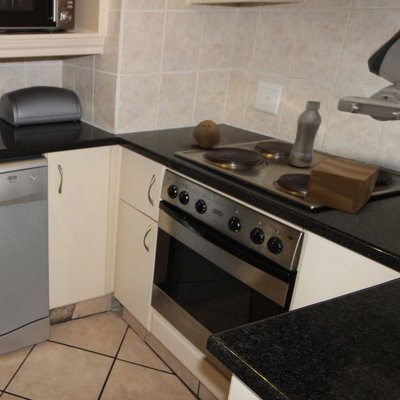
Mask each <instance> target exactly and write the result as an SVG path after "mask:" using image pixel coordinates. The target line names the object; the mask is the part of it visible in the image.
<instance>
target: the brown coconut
mask: <svg viewBox="0 0 400 400" xmlns="http://www.w3.org/2000/svg"><path fill="white" fill-rule="evenodd" d="M192 135H193V138H194V141H195V142H196V143H197V145H198V146H199V147H200V148H202V149H205V150H207V149H210V148H212V147H214V146H217V145H219V144H220V143H221V142H222V134H221V131H220V128H219V126H218V124H217V123H216V122H215V121H213V120H212V119H204V120H202V121H200V122H199V123H198V124H197V125H196V126H195V128H194V130H193V133H192Z"/></svg>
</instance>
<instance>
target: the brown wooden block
mask: <svg viewBox="0 0 400 400" xmlns="http://www.w3.org/2000/svg"><path fill="white" fill-rule="evenodd" d="M335 159H336V160H341V161H346V162H351V163H356V164H361V165H365V166H370V167H375V168H379V170H378V173H377V176H376V179H375V183H374V186H373V189H372V192H373V191H374V190H375V189H374V188H375V186H376V183H377V179H378V175H379V174H380V173H379V172H380V169H381V166H378V165H374V164H369V163H366V162H365V163H364V162H359V161H355V160H349V159H344V158H340V157H335Z"/></svg>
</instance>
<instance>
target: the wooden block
mask: <svg viewBox="0 0 400 400" xmlns="http://www.w3.org/2000/svg"><path fill="white" fill-rule="evenodd" d="M378 170H379V171H380V169H379V168H375V167H370V166H365V165H361V164H356V163H351V162H346V161H341V160H336V158H332V157H328V158H327V159H325V160H323V161H322V162H320V163H319V164H317V165H315V166H314V167H313V168H311V170H310V175H309V178H308V183H307V186H306V191H305V194H304V199H303V201H306V202H310V203H314V204H317V205H320V206H323V207H324V206H325V207H328V208H332V209H335V210H339V211H343V212H346V213H351V214H356V213H357V212H358V211H359V210H360V209H361V208H362V207H363V206H364V205H365V204H366V203H367V202H368V201H370V199H371V195H372V192H373V191H372V189H373V186H374V183H375V184H376V182H375V179H376V176H377V173H378ZM378 174H379V173H378ZM377 177H378V176H377ZM376 180H377V179H376ZM374 187H375V186H374ZM373 190H374V189H373Z"/></svg>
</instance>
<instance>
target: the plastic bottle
mask: <svg viewBox="0 0 400 400" xmlns="http://www.w3.org/2000/svg"><path fill="white" fill-rule="evenodd" d="M304 108H305V110H304V111H303V112H301V113H300V115H298V118H297V121H296V122H297V124H296V134H295V139H294V143H293V147H292V149H291V151H290V153H289V156H288V162H289V165H292V166H294V167H299V168H308V167H309V166H310V165H311V164H312V162H313V159H314V158H313V157H314V145H315V142H316V138H317V134H318V132H319V129H320V127H321V125H322V116H321V114H320V112H319V110H320V109H321V102H320V101H315V100H313V101H312V100H307V101H306V104H305V106H304Z"/></svg>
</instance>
